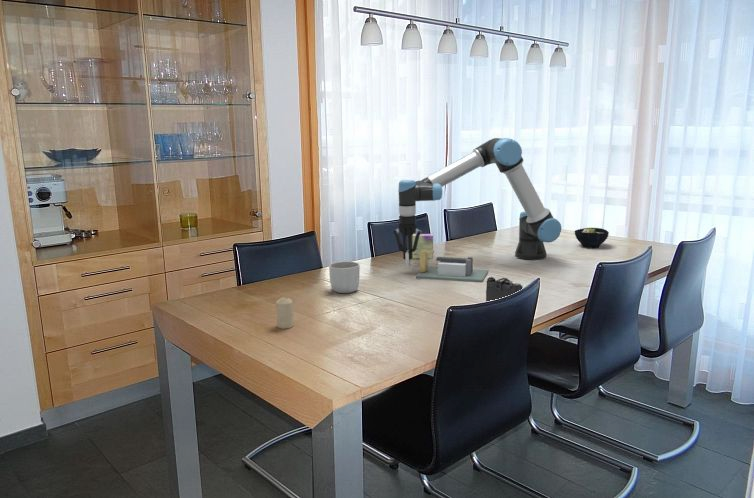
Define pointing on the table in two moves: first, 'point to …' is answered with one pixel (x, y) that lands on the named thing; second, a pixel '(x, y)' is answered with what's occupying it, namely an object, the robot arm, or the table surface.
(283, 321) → the candle
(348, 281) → the planter
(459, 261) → the strap
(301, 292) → the table surface
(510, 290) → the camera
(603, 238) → the bowl
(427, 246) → the box
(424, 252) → the notched wooden block
